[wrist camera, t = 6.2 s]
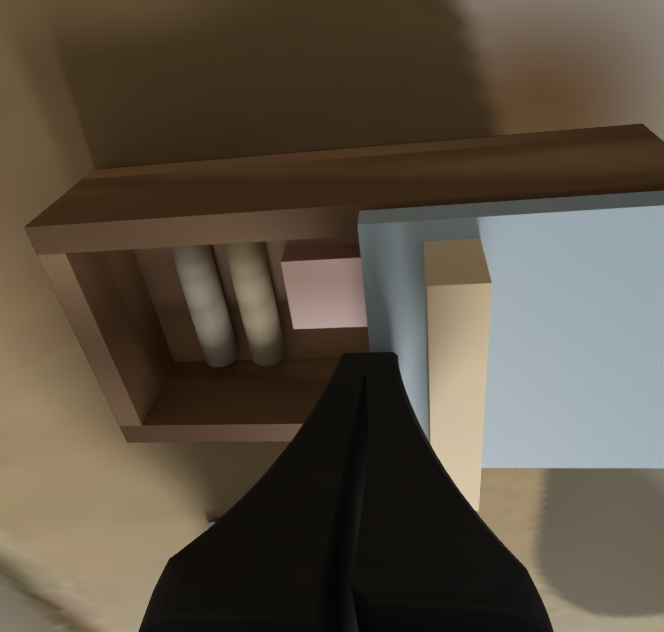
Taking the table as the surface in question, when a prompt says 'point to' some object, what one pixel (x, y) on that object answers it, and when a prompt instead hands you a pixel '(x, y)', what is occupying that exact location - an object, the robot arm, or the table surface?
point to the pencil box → (272, 264)
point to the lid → (524, 328)
